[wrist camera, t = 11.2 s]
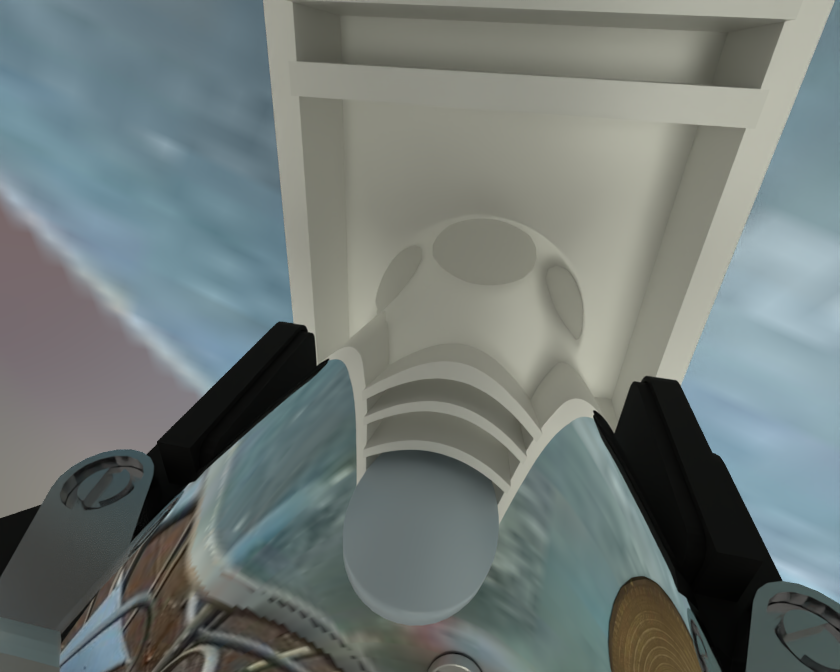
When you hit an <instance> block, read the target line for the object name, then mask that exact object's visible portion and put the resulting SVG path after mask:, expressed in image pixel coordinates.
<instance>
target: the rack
mask: <svg viewBox="0 0 840 672" xmlns="http://www.w3.org/2000/svg"><path fill="white" fill-rule="evenodd" d="M834 1H835V0H263V4H264V15H265V25H266V36H267V47H268V57H269V68H270V78H271V89H272V99H273V110H274V120H275V131H276V141H277V152H278V163H279V173H280V184H281V194H282V205H283V215H284V226H285V236H286V247H287V258H288V268H289V279H290V289H291V300H292V310H293V321H294V324H300V325H305V326H306V327H307V330H308V332H310V333H313V334H314V336H315V345H316V360H317V365H318V364H320V363H321V362H322V361H323V360H324V359H326V358H327V357H328V356H329V355H331V354H332V353H333V352H334V351H336V350H337V349H338V348H339V347H340V346H342V345H343V344H344V343H345V342H346V341H348V340H349V339H350V338H351V337H352V336H353V335H354V334H355V333H357V332H358V331H359V330H360V329H361V328H362V327H363V326H364V324H365V323H366V322H367V320H368V318H369V316H370V313H371V308H372V304H373V300H374V295H375V291H376V288H377V285H378V282H379V279H380V277H381V274H382V272H383V270H384V268H385V266H386V265H387V263H388V261H389V260H390V258H391V257H392V255H393V254H394V253H395V252H396V250H397V249H398V248H399V247H400V246H401V245H402V244H403V243H404V242H405V241H406V240H407V239H409V238H410V237H411V236H413V235H414V234H415V233H417V232H418V231H420V230H422V229H424V228H426V227H427V226H430V225H432V224H434V223H437V222H439V221H442V220H446V219H449V218H454V217H459V216H467V215H488V216H496V217H501V218H505V219H509V220H512V221H515V222H518V223H521V224H523V225H525V226H527V227H529V228H531V229H533V230H535V231H537V232H538V233H540V234H541V235H543V236H544V237H545V238H547V239H548V240H549V241H550V242H551V243H553V244H554V245H555V246H556V247H557V248H558V249H559V250H560V252H561V253H562V254H563V255H564V256H565V257H566V259H567V260H568V261H569V263H570V265H571V266H572V268H573V269H574V271H575V273H576V275H577V277H578V280H579V282H580V285H581V288H582V291H583V295H584V300H585V308H586V324H585V334H584V340H583V346H582V351H581V356H580V367H581V370H582V374H583V376H584V378H585V380H586V382H587V384H588V386H589V388H590V390H591V392H592V394H593V396H594V398H595V400H596V402H597V403H598V405H599V407H600V409H601V411H602V413H603V414H604V416H605V418H606V420H607V422H608V423H609V425H610V427H611V429H612V431H613V432H614V433H615V430H616V427H617V424H618V421H619V418H620V415H621V412H622V409H623V406H624V403H625V400H626V397H627V394H628V391H629V388H630V386H631V384H632V382H634V381H636V382H641V381H642V379H643V378H644V377H645V376H652V377H659V378H665V379H672V380H677V381H678V382H679V384H680V386H681V383H682V381H683V378H684V376H685V373H686V371H687V368H688V366H689V363H690V361H691V358H692V356H693V353H694V351H695V348H696V346H697V343H698V341H699V338H700V336H701V333H702V331H703V329H704V326H705V324H706V321H707V319H708V316H709V314H710V311H711V309H712V306H713V304H714V301H715V299H716V296H717V294H718V291H719V289H720V286H721V284H722V281H723V279H724V276H725V274H726V271H727V269H728V266H729V264H730V261H731V259H732V256H733V254H734V251H735V249H736V246H737V244H738V241H739V239H740V236H741V234H742V231H743V229H744V226H745V224H746V221H747V219H748V216H749V214H750V211H751V209H752V206H753V204H754V201H755V199H756V196H757V194H758V191H759V189H760V186H761V184H762V181H763V179H764V176H765V174H766V171H767V169H768V166H769V164H770V161H771V159H772V156H773V154H774V151H775V149H776V146H777V144H778V141H779V139H780V136H781V134H782V131H783V129H784V126H785V124H786V121H787V119H788V116H789V114H790V111H791V109H792V106H793V104H794V101H795V99H796V96H797V94H798V91H799V89H800V86H801V84H802V81H803V79H804V76H805V74H806V71H807V69H808V66H809V64H810V61H811V59H812V56H813V54H814V51H815V49H816V46H817V44H818V41H819V39H820V36H821V34H822V31H823V29H824V26H825V24H826V21H827V19H828V16H829V14H830V11H831V9H832V6H833V4H834Z"/></svg>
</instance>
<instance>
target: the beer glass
mask: <svg viewBox="0 0 840 672" xmlns="http://www.w3.org/2000/svg"><path fill="white" fill-rule="evenodd" d="M585 324H586V308H585V300H584V295H583V291H582V288H581V285H580V282H579V280H578V277H577V275H576V273H575V271H574V269H573V268H572V266H571V265H570V263H569V261H568V260H567V259H566V257H565V256H564V255H563V254H562V253H561V252H560V250H559V249H558V248H557V247H556V246H555V245H554V244H553V243H551V242H550V241H549V240H548V239H547V238H545V237H544V236H543V235H541V234H540V233H538V232H537V231H535V230H533V229H531V228H529V227H527V226H525V225H523V224H521V223H518V222H515V221H512V220H509V219H505V218H501V217H496V216H488V215H467V216H459V217H454V218H449V219H446V220H442V221H439V222H437V223H434V224H432V225H430V226H427V227H426V228H424V229H422V230H420V231H418V232H417V233H415V234H414V235H413V236H411V237H410V238H409V239H407V240H406V241H405V242H404V243H403V244H402V245H401V246H400V247H399V248H398V249H397V250H396V252H395V253H394V254H393V255H392V257H391V258H390V260H389V261H388V263H387V265H386V266H385V268H384V270H383V272H382V274H381V277H380V279H379V282H378V285H377V288H376V291H375V295H374V300H373V304H372V308H371V313H370V316H369V318H368V320H367V322H366V323H365V324H364V326H363V327H362V328H361V329H360V330H359V331H358V332H357V333H355V334H354V335H353V336H352V337H351V338H350V339H349V340H348V341H346V342H345V343H344V344H343V345H342V346H340V347H339V348H338V349H337V350H336V351H334V352H333V353H332V354H331V355H329V356H328V357H327V358H326V359H324V360H323V361H322V362H321V363H320V364H318V365H317V366H316V367H315V368H313V369H312V370H311V371H310V372H309V373H307V374H306V375H305V376H304V377H303V378H301V379H300V380H299V381H298V382H297V383H295V384H294V385H293V386H292V387H291V388H289V389H288V390H287V391H286V392H285V393H283V394H282V395H281V396H280V397H279V398H278V399H276V400H275V401H274V402H273V403H272V404H270V405H269V406H268V407H267V408H266V409H264V410H263V411H262V412H261V413H260V414H258V415H257V416H256V417H255V418H254V419H253V420H252V421H251V422H250V423H249V424H247V425H246V426H245V427H244V428H243V429H242V430H241V431H240V432H239V433H238V434H237V435H236V436H235V437H234V438H233V439H232V440H231V441H229V442H228V443H227V444H226V445H225V446H224V447H223V448H222V449H221V450H220V451H219V452H218V453H217V454H216V455H215V456H214V457H212V458H211V459H210V460H209V461H208V462H207V463H206V464H205V465H204V466H203V467H202V468H201V469H200V470H199V471H198V472H197V473H195V474H194V475H193V476H192V477H191V478H190V479H189V480H188V481H187V482H186V483H185V484H184V485H183V486H182V487H181V488H180V489H179V490H178V491H177V492H176V493H175V494H174V495H173V496H172V497H171V498H170V499H169V500H168V501H167V503H166V504H165V505H164V506H163V507H162V508H161V509H160V510H159V512H158V513H157V514H156V515H155V516H154V517H153V518H152V519H151V520H150V522H149V523H148V524H147V525H146V526H145V527H144V528H143V529H142V531H141V532H140V533H139V534H138V535H137V536H136V537H135V538H134V540H133V541H132V542H131V543H130V544H129V545H128V546H127V547H126V549H125V550H124V551H123V552H122V553H121V554H120V555H119V556H118V558H117V559H116V560H115V561H114V562H113V563H112V564H111V565H110V566H109V568H108V569H107V570H106V571H105V572H104V573H103V574H102V575H101V577H100V578H99V579H98V580H97V581H96V582H95V583H94V584H93V586H92V587H91V588H90V589H89V590H88V591H87V592H86V593H85V595H84V596H83V597H82V598H81V599H80V600H79V601H78V602H77V604H76V605H75V606H74V607H73V608H72V609H71V610H70V611H69V613H68V614H67V615H66V616H65V617H64V618H63V620H62V621H61V622H60V623H59V625H58V626H57V627H56V628H55V631H59V638H58V655H59V667H60V668H59V669H58V671H57V672H725V670H724V667H723V664H722V661H721V659H720V656H719V653H718V650H717V648H716V645H715V642H714V639H713V637H712V634H711V632H710V629H709V627H708V625H707V623H706V620H705V618H704V616H703V614H702V612H701V609H700V607H699V605H698V603H697V601H696V598H695V596H694V594H693V592H692V590H691V588H690V585H689V583H688V581H687V579H686V577H685V574H684V572H683V570H682V568H681V566H680V564H679V561H678V559H677V557H676V555H675V553H674V550H673V548H672V546H671V544H670V542H669V540H668V537H667V535H666V533H665V531H664V529H663V526H662V524H661V522H660V520H659V518H658V516H657V513H656V511H655V509H654V507H653V505H652V504H651V502H650V500H649V498H648V496H647V494H646V492H645V490H644V489H643V487H642V485H641V483H640V481H639V479H638V477H637V475H636V473H635V472H634V470H633V468H632V466H631V464H630V462H629V460H628V458H627V456H626V455H625V453H624V451H623V449H622V447H621V445H620V443H619V441H618V440H617V438H616V436H615V434H614V432H613V431H612V429H611V427H610V425H609V423H608V422H607V420H606V418H605V416H604V414H603V413H602V411H601V409H600V407H599V405H598V403H597V402H596V400H595V398H594V396H593V394H592V392H591V390H590V388H589V386H588V384H587V382H586V380H585V378H584V376H583V374H582V370H581V367H580V356H581V351H582V346H583V340H584V334H585Z"/></svg>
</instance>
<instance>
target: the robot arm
mask: <svg viewBox="0 0 840 672" xmlns="http://www.w3.org/2000/svg"><path fill="white" fill-rule="evenodd" d="M316 366H317V360H316V345H315V336H314V334H313V333H310V332H308V330H307V327H306V326H305V325H300V324H294V323H287V322H278V323H276V324H275V325H274V326H273V327H272V328H271V329H270V330H269V331H268V332H267V333H266V334H265V335H264V336H263V337H262V338H261V339H260V340H259V341H258V342H257V343H256V344H255V345H254V346H253V347H252V348H251V349H250V350H249V351H248V352H247V353H246V354H245V355H244V356H243V357H242V358H241V359H240V360H239V361H238V362H237V363H236V364H235V365H234V366H233V367H232V368H231V369H230V370H229V371H228V372H227V373H226V374H225V375H224V376H223V377H222V378H221V379H220V380H219V381H218V382H217V383H216V384H215V385H214V386H213V387H212V388H211V389H210V390H209V391H208V392H207V393H206V394H205V395H204V396H203V397H202V398H201V399H200V400H199V401H198V402H197V403H196V404H195V405H194V406H193V407H192V408H191V409H190V410H189V411H188V412H187V413H186V414H185V415H184V416H183V417H182V418H180V420H179V421H177V422H176V423H175V424H174V426H172V427H171V429H169V430H168V431H167V433H165V434H164V435H163V436H162V438H160V439H159V440H158V441H157V445H156V446H155V447H154V448H153V449H152V450H151V451H150V452H149V453H148V454H147V455H146V454H144V453H143V452H139V451H135V450H114V451H108V452H103V453H100V454H97V455H95V456H92V457H89V458H87V459H85V460H83V461H81V462H80V463H78V464H76V465H74V466H73V467H71V468H70V469H69V470H67V471H66V472H65V473H64V474H63V475H61V476H60V477H59V478H58V480H57V481H56V482H55V484H54V485H53V486H52V487H51V489H50V491H49V492H48V494H47V496H46V498H45V499H44V501H43V503H42V505H39V506H36V507H33V508H30V509H27V510H24V511H21V512H18V513H15V514H12V515H9V516H6V517H3V518H0V672H57V671H58V669H59V668H60V667H59V655H58V638H59V631H55V628H56V627H57V626H58V625H59V623H60V622H61V621H62V620H63V618H64V617H65V616H66V615H67V614H68V613H69V611H70V610H71V609H72V608H73V607H74V606H75V605H76V604H77V602H78V601H79V600H80V599H81V598H82V597H83V596H84V595H85V593H86V592H87V591H88V590H89V589H90V588H91V587H92V586H93V584H94V583H95V582H96V581H97V580H98V579H99V578H100V577H101V575H102V574H103V573H104V572H105V571H106V570H107V569H108V568H109V566H110V565H111V564H112V563H113V562H114V561H115V560H116V559H117V558H118V556H119V555H120V554H121V553H122V552H123V551H124V550H125V549H126V547H127V546H128V545H129V544H130V543H131V542H132V541H133V540H134V538H135V537H136V536H137V535H138V534H139V533H140V532H141V531H142V529H143V528H144V527H145V526H146V525H147V524H148V523H149V522H150V520H151V519H152V518H153V517H154V516H155V515H156V514H157V513H158V512H159V510H160V509H161V508H162V507H163V506H164V505H165V504H166V503H167V501H168V500H169V499H170V498H171V497H172V496H173V495H174V494H175V493H176V492H177V491H178V490H179V489H180V488H181V487H182V486H183V485H184V484H185V483H186V482H187V481H188V480H189V479H190V478H191V477H192V476H193V475H194V474H195V473H197V472H198V471H199V470H200V469H201V468H202V467H203V466H204V465H205V464H206V463H207V462H208V461H209V460H210V459H211V458H212V457H214V456H215V455H216V454H217V453H218V452H219V451H220V450H221V449H222V448H223V447H224V446H225V445H226V444H227V443H228V442H229V441H231V440H232V439H233V438H234V437H235V436H236V435H237V434H238V433H239V432H240V431H241V430H242V429H243V428H244V427H245V426H246V425H247V424H249V423H250V422H251V421H252V420H253V419H254V418H255V417H256V416H257V415H258V414H260V413H261V412H262V411H263V410H264V409H266V408H267V407H268V406H269V405H270V404H272V403H273V402H274V401H275V400H276V399H278V398H279V397H280V396H281V395H282V394H283V393H285V392H286V391H287V390H288V389H289V388H291V387H292V386H293V385H294V384H295V383H297V382H298V381H299V380H300V379H301V378H303V377H304V376H305V375H306V374H307V373H309V372H310V371H311V370H312V369H313V368H315V367H316ZM614 434H615V436H616V438H617V440H618V441H619V443H620V445H621V447H622V449H623V451H624V453H625V455H626V456H627V458H628V460H629V462H630V464H631V466H632V468H633V470H634V472H635V473H636V475H637V477H638V479H639V481H640V483H641V485H642V487H643V489H644V490H645V492H646V494H647V496H648V498H649V500H650V502H651V504H652V505H653V507H654V509H655V511H656V513H657V516H658V518H659V520H660V522H661V524H662V526H663V529H664V531H665V533H666V535H667V537H668V540H669V542H670V544H671V546H672V548H673V550H674V553H675V555H676V557H677V559H678V561H679V564H680V566H681V568H682V570H683V572H684V574H685V577H686V579H687V581H688V583H689V585H690V588H691V590H692V592H693V594H694V596H695V598H696V601H697V603H698V605H699V607H700V609H701V612H702V614H703V616H704V618H705V620H706V623H707V625H708V627H709V629H710V632H711V634H712V637H713V639H714V642H715V645H716V648H717V650H718V653H719V656H720V659H721V661H722V664H723V667H724V670H725V672H840V604H839V603H837V602H835V601H834V600H832V599H830V598H828V597H827V596H825V595H823V594H822V593H820V592H818V591H816V590H813V589H810V588H808V587H805V586H803V585H800V584H796V583H790V582H784V581H782V579H781V577H780V575H779V573H778V571H777V569H776V567H775V565H774V563H773V561H772V559H771V557H770V555H769V552H768V550H767V548H766V546H765V544H764V542H763V540H762V538H761V536H760V534H759V532H758V530H757V528H756V526H755V524H754V522H753V520H752V518H751V516H750V514H749V512H748V510H747V508H746V506H745V504H744V502H743V500H742V498H741V496H740V494H739V492H738V490H737V488H736V486H735V484H734V482H733V480H732V477H731V475H730V473H729V471H728V469H727V467H726V465H725V463H724V462H723V460H722V459H721V457H720V456H718V455H716V454H715V453H712V451H711V449H710V447H709V445H708V443H707V441H706V438H705V436H704V434H703V432H702V430H701V428H700V426H699V424H698V422H697V420H696V417H695V415H694V413H693V411H692V409H691V407H690V405H689V403H688V401H687V398H686V396H685V394H684V392H683V390H682V388H681V386H680V384H679V382H678V381H677V380H672V379H665V378H659V377H652V376H645V377H644V378H643V379H642V381H641V382H636V381H634V382H632V384H631V386H630V388H629V391H628V394H627V397H626V400H625V403H624V406H623V409H622V412H621V415H620V418H619V421H618V424H617V427H616V430H615V433H614Z"/></svg>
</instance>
